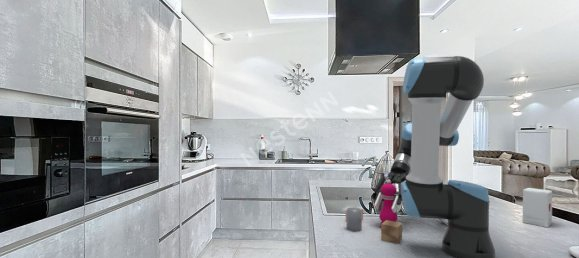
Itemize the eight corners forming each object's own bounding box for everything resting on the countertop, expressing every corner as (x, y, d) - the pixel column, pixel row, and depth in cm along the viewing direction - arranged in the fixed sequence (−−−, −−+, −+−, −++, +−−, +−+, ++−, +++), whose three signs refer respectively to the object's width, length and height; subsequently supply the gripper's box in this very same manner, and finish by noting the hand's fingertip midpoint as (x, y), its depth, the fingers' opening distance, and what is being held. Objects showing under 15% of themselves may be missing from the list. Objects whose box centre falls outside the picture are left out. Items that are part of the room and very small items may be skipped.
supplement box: (548, 228, 124) (548, 192, 124) (522, 222, 131) (522, 189, 131) (552, 223, 130) (552, 190, 130) (527, 219, 137) (527, 187, 137)
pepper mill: (377, 228, 120) (378, 180, 120) (380, 223, 126) (381, 177, 126) (396, 231, 116) (396, 181, 117) (398, 226, 123) (399, 179, 123)
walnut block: (402, 239, 109) (402, 223, 109) (398, 244, 104) (398, 227, 104) (385, 235, 112) (385, 220, 112) (381, 240, 107) (381, 224, 107)
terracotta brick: (362, 220, 132) (363, 209, 132) (353, 224, 126) (353, 212, 126) (355, 218, 135) (355, 207, 135) (345, 221, 129) (345, 210, 129)
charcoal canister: (364, 229, 119) (364, 209, 119) (356, 232, 115) (356, 212, 115) (351, 225, 123) (351, 206, 123) (343, 229, 119) (343, 209, 119)
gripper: (426, 173, 126) (411, 219, 114) (383, 169, 139) (366, 209, 128) (422, 162, 122) (406, 208, 110) (378, 158, 136) (359, 199, 124)
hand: (384, 208), depth 119 cm, fingers open, 7 cm apart
